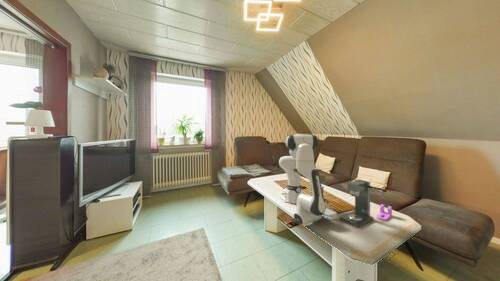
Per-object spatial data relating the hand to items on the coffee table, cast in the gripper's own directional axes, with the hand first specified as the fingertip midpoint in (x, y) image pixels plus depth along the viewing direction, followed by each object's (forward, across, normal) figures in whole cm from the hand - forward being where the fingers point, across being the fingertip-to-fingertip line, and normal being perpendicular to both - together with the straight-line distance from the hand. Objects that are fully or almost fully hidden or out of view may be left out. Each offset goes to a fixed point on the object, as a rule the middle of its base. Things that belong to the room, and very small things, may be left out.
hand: (328, 207), depth 118 cm
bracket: (+30, -21, +6) cm, 37 cm away
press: (+11, -17, +6) cm, 21 cm away
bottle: (-1, 0, +6) cm, 6 cm away
